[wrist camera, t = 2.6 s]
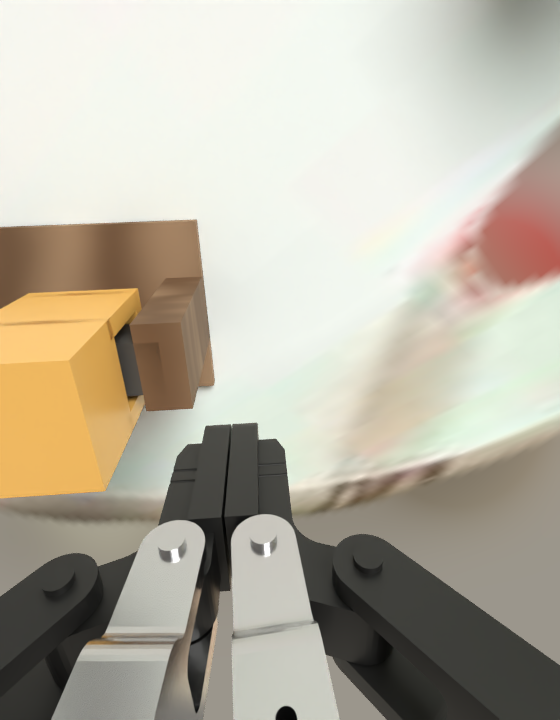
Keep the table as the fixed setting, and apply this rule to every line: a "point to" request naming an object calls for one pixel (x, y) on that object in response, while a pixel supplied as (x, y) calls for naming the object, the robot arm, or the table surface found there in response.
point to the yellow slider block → (64, 391)
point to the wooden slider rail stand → (126, 271)
